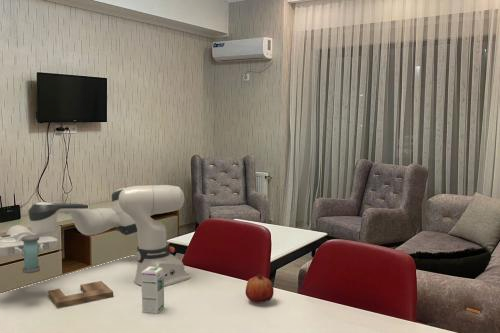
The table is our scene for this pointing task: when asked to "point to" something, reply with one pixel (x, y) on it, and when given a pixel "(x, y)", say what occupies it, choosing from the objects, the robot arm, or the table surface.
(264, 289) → the fruit
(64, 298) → the notched board
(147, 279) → the syrup box
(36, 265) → the bobbin
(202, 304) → the table surface
